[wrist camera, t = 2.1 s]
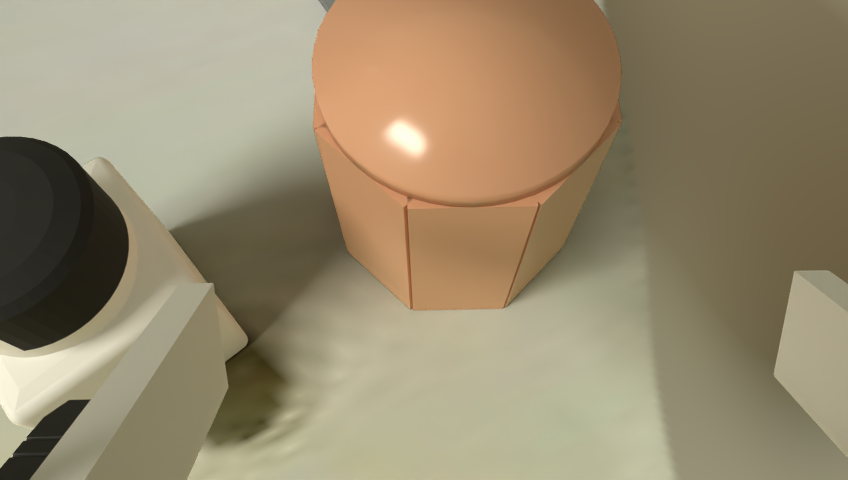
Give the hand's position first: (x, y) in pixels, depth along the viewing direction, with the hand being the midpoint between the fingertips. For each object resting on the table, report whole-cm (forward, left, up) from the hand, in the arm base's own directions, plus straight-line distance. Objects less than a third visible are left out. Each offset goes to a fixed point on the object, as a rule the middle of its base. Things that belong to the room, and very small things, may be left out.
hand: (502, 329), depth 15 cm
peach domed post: (-9, +5, -14) cm, 17 cm away
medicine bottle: (-11, -10, -14) cm, 20 cm away
